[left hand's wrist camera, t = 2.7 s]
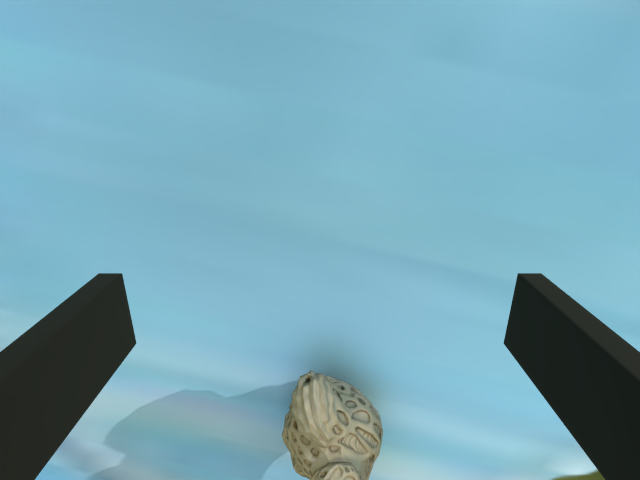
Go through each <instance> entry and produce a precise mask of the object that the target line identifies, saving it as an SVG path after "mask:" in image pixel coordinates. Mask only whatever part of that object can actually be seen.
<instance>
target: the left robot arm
mask: <svg viewBox="0 0 640 480" xmlns="http://www.w3.org/2000/svg"><path fill="white" fill-rule="evenodd" d="M135 344H136V340H135V335H134V330H133V325H132V320H131V315H130V310H129V305H128V300H127V295H126V291H125V286H124V281H123V276H122V274H98V275H96V276H95V277H94V278H93V279H91V280H90V281H89V282H88V283H86V284H85V285H84V286H83V287H81V288H80V289H79V290H78V291H76V292H75V293H74V294H73V295H71V296H70V297H69V298H68V299H66V300H65V301H64V302H63V303H61V304H60V305H59V306H58V307H56V308H55V309H54V310H53V311H51V312H50V313H49V314H48V315H46V316H45V317H44V318H43V319H41V320H40V321H39V322H38V323H36V324H35V325H34V326H33V327H31V328H30V329H29V330H28V331H26V332H25V333H24V334H23V335H21V336H20V337H19V338H18V339H16V340H15V341H14V342H13V343H11V344H10V345H9V346H8V347H6V348H5V349H4V350H3V351H1V352H0V480H35V478H36V477H37V476H38V474H39V473H40V472H41V470H42V469H43V468H44V466H45V465H46V464H47V462H48V461H49V460H50V458H51V457H52V456H53V454H54V453H55V452H56V450H57V449H58V448H59V446H60V445H61V444H62V442H63V441H64V440H65V438H66V437H67V436H68V434H69V433H70V431H71V430H72V429H73V427H74V426H75V425H76V423H77V422H78V421H79V419H80V418H81V417H82V415H83V414H84V413H85V411H86V410H87V409H88V407H89V406H90V405H91V403H92V402H93V401H94V399H95V398H96V397H97V395H98V394H99V393H100V391H101V390H102V389H103V387H104V386H105V385H106V383H107V382H108V381H109V379H110V378H111V377H112V375H113V374H114V373H115V371H116V370H117V368H118V367H119V366H120V364H121V363H122V362H123V360H124V359H125V358H126V356H127V355H128V354H129V352H130V351H131V350H132V348H133V347H134V346H135ZM504 344H505V346H506V347H507V348H508V350H509V351H510V352H511V354H512V355H513V356H514V358H515V359H516V360H517V362H518V363H519V364H520V366H521V367H522V369H523V370H524V371H525V373H526V374H527V375H528V377H529V378H530V379H531V381H532V382H533V383H534V385H535V386H536V387H537V389H538V390H539V391H540V393H541V394H542V395H543V397H544V398H545V399H546V401H547V402H548V403H549V405H550V406H551V407H552V409H553V410H554V411H555V413H556V414H557V415H558V417H559V418H560V419H561V421H562V422H563V423H564V425H565V426H566V427H567V429H568V430H569V431H570V433H571V434H572V436H573V437H574V438H575V440H576V441H577V442H578V444H579V445H580V446H581V448H582V449H583V450H584V452H585V453H586V454H587V456H588V457H589V458H590V460H591V461H592V462H593V464H594V465H595V466H596V468H597V469H598V470H599V472H600V473H601V474H602V476H603V477H604V478H605V480H640V352H639V351H637V350H636V349H635V348H634V347H632V346H631V345H630V344H629V343H627V342H626V341H625V340H624V339H622V338H621V337H620V336H619V335H617V334H616V333H615V332H614V331H612V330H611V329H610V328H609V327H607V326H606V325H605V324H604V323H602V322H601V321H600V320H599V319H597V318H596V317H595V316H594V315H592V314H591V313H590V312H589V311H587V310H586V309H585V308H584V307H582V306H581V305H580V304H579V303H577V302H576V301H575V300H574V299H572V298H571V297H570V296H569V295H567V294H566V293H565V292H564V291H562V290H561V289H560V288H559V287H557V286H556V285H555V284H554V283H552V282H551V281H550V280H549V279H547V278H546V277H545V276H544V275H542V274H518V276H517V281H516V286H515V291H514V295H513V300H512V305H511V310H510V315H509V320H508V325H507V330H506V335H505V340H504Z"/></svg>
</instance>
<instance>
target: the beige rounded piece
mask: <svg viewBox="0 0 640 480" xmlns="http://www.w3.org/2000/svg"><path fill="white" fill-rule="evenodd" d="M292 398H293V401H292V402H291V404H290V407H289V408H290V412H288V413H287V415H286V416H285V423H284V431H283V433H282V437H283V440H284V443H285V445H286V446H287V448H288V450H289V451H290V454H291V459H292V463H293V467H294V469H295V471H296V472H297V473H298V474H299V475H301V476H303V477H307V478H308V479H310V480H368V479H369V476H370V473H371V470H372V467H373V464H374V462H375V460H376V458H377V456H378V454H379V452H380V447H381V442H382V435H383V430H382V425H381V420H380V416H379V414H378V412H377V410H376V409H375V408H374V407H373V406H372V403H371V402H370V401H369V400H368V399H367V398H365V396H364V395H363V394H362V393H361V392H360V391H359V390H358V389H357V388H355V387H353V386H351V385H349V384H347V383H346V382H344V381H340V380H337V379H334V378H332V377H330V376H327V377H326V376H325V375H323V374H320V373H315V372H313V371H310V372H309V373H308V374H305V375H303V376H300V379H299V382H298V384H297V387H296V389H295V390H294V392H293V393H292Z"/></svg>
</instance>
